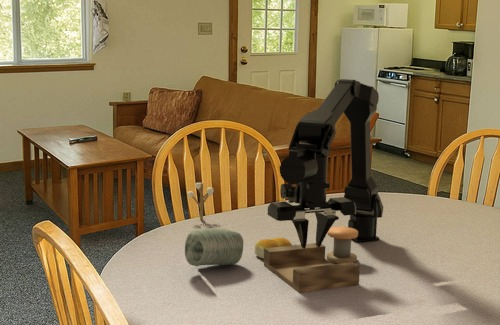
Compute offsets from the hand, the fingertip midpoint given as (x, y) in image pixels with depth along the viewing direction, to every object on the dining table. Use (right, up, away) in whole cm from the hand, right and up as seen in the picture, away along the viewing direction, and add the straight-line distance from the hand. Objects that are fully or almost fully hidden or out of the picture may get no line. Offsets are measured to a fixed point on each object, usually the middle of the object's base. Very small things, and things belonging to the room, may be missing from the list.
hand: (310, 247), depth 145 cm
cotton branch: (-27, +1, +41) cm, 49 cm away
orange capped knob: (+8, -4, +12) cm, 15 cm away
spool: (-23, -5, +4) cm, 24 cm away
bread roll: (-6, -4, +17) cm, 18 cm away
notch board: (0, -6, +1) cm, 6 cm away
